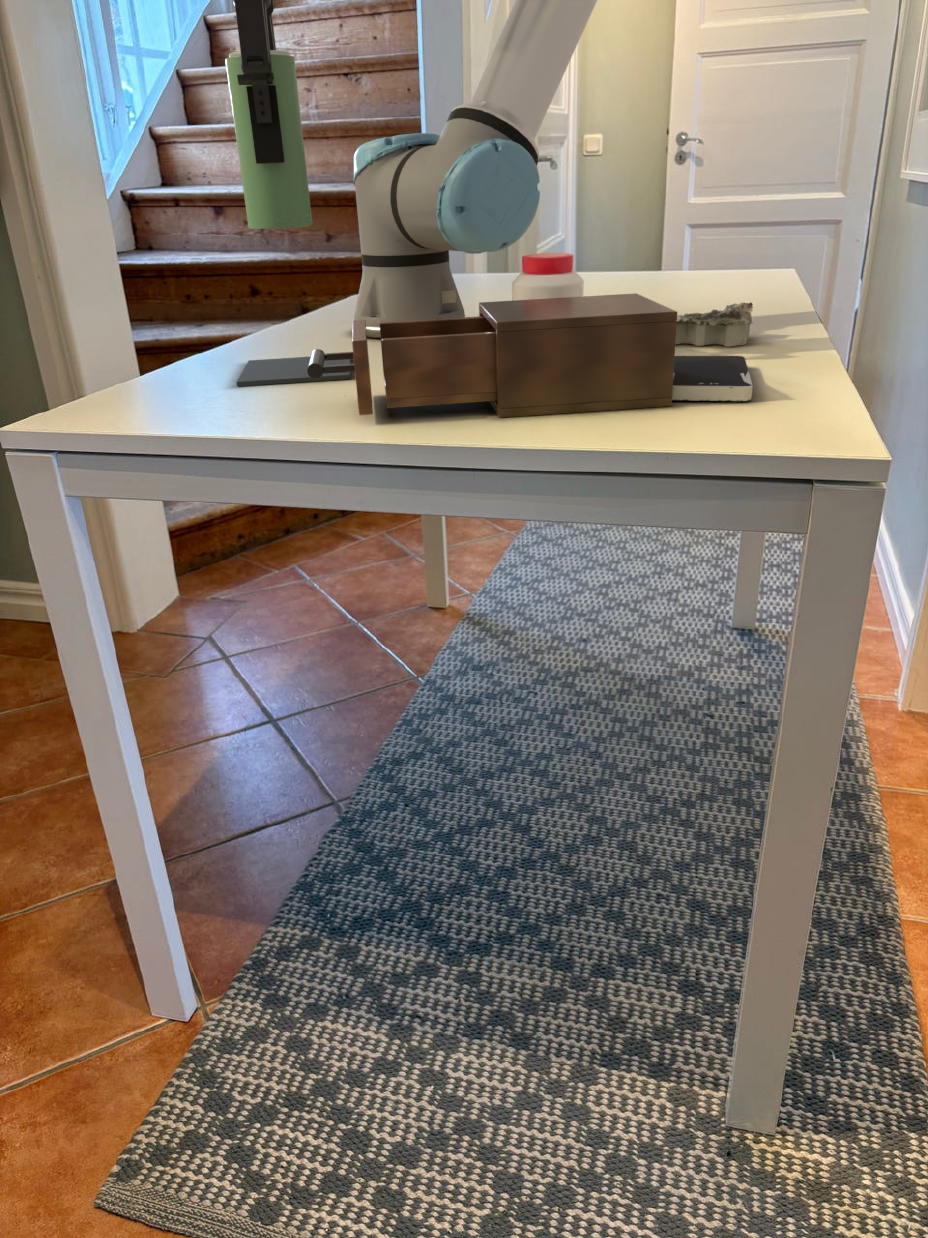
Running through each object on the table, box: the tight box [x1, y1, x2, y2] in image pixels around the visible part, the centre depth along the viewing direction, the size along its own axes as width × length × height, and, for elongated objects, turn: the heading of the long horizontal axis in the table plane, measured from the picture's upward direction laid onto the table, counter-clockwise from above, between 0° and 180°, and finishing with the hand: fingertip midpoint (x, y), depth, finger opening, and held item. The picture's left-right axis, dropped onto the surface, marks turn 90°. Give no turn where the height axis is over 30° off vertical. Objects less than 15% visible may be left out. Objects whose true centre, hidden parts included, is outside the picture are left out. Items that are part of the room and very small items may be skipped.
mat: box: [235, 356, 352, 387], centre depth 101 cm, size 12×12×1 cm
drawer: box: [307, 315, 497, 416], centre depth 82 cm, size 19×11×6 cm, turn 96°
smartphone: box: [672, 355, 754, 402], centre depth 87 cm, size 8×1×15 cm
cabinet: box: [478, 293, 678, 419], centre depth 83 cm, size 16×13×8 cm
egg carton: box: [675, 302, 754, 348], centre depth 106 cm, size 11×8×4 cm
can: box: [224, 49, 313, 230], centre depth 90 cm, size 7×7×15 cm
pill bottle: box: [511, 252, 585, 301], centre depth 98 cm, size 8×8×11 cm
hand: (273, 162), depth 91 cm, fingers closed on can, 7 cm apart
